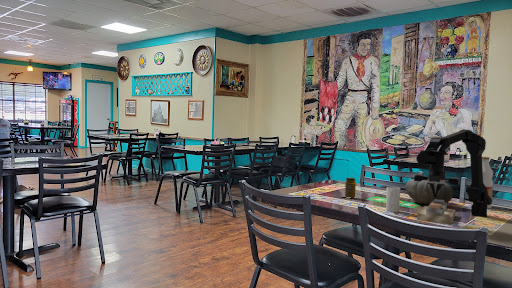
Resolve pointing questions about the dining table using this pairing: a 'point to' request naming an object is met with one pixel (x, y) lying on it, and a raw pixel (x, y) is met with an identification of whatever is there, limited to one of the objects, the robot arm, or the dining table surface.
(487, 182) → the fruit juice
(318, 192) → the dining table surface
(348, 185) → the condiment
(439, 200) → the dark grey square block
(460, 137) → the robot arm
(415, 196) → the gourd
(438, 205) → the salmon brown square block
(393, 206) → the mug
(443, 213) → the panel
